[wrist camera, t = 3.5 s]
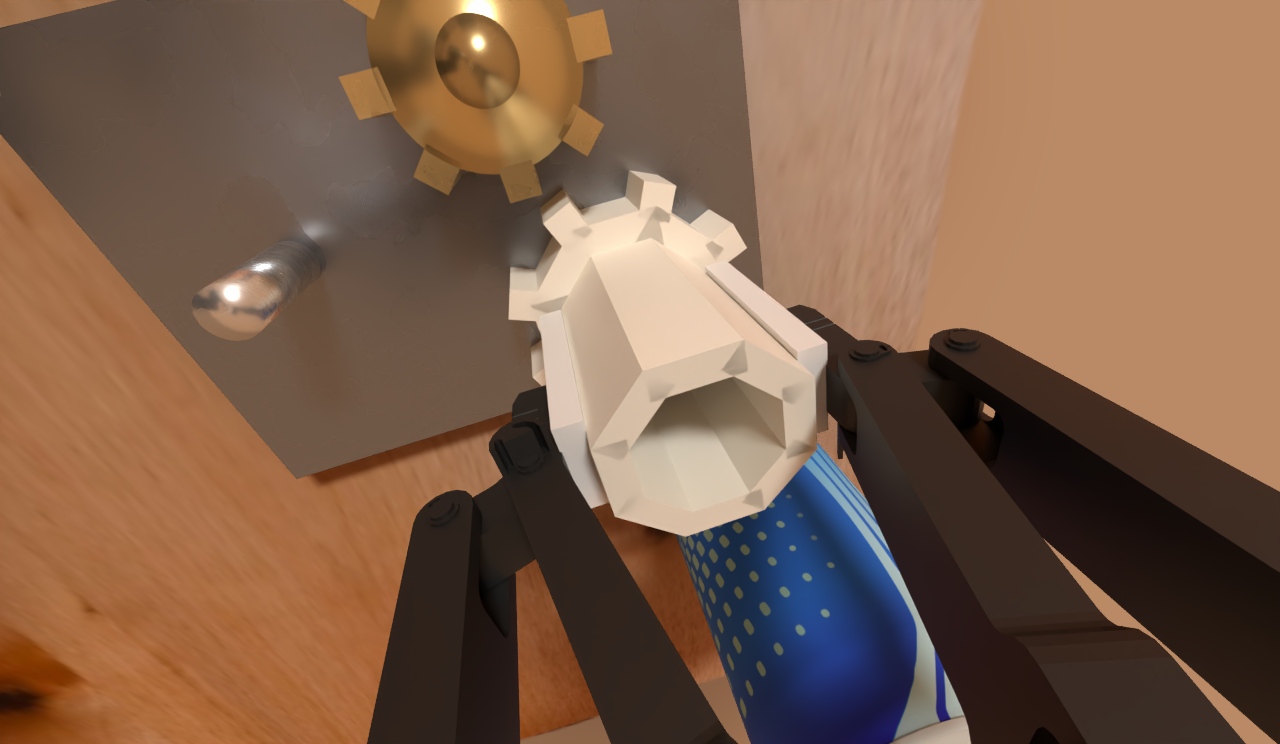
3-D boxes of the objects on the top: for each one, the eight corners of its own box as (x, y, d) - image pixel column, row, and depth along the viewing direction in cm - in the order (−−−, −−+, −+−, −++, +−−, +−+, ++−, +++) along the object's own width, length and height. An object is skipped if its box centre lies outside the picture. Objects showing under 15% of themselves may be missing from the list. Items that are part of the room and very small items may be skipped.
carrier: (309, 456, 22) (247, 564, 17) (-21, 49, 14) (-338, 25, 9) (753, 318, 24) (818, 380, 19) (708, -125, 15) (804, -234, 10)
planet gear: (554, 406, 22) (580, 619, 13) (476, 213, 17) (434, 340, 8) (737, 349, 23) (880, 515, 14) (711, 147, 18) (904, 201, 9)
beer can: (703, 360, 24) (936, 695, 11) (817, 411, 28) (1101, 712, 14) (623, 480, 27) (728, 862, 14) (736, 512, 31) (908, 843, 17)
